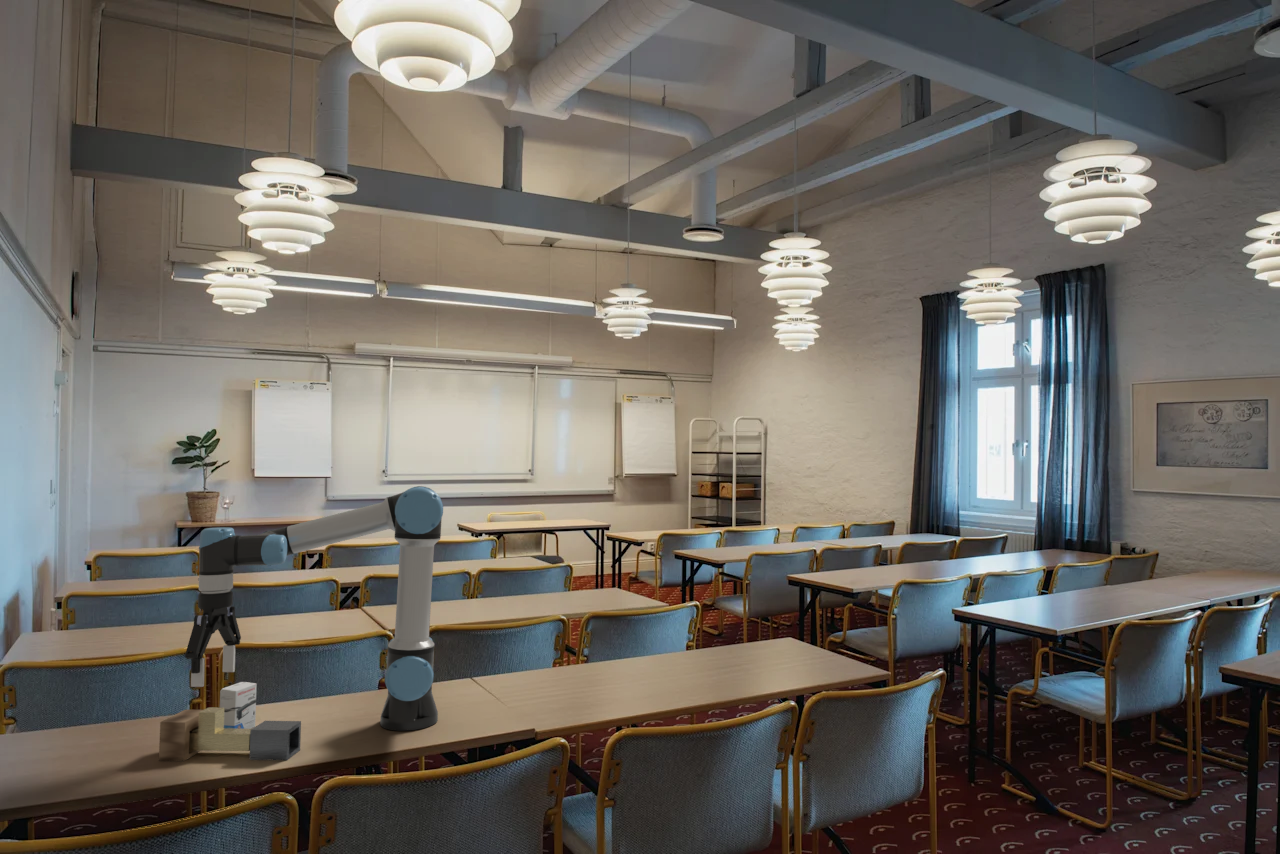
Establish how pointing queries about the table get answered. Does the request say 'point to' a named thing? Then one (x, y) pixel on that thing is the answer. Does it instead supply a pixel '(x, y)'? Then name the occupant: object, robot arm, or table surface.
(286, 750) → the sleeve
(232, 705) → the ink box
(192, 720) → the socket
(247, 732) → the l-shaped notched block
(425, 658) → the robot arm
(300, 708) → the table surface
